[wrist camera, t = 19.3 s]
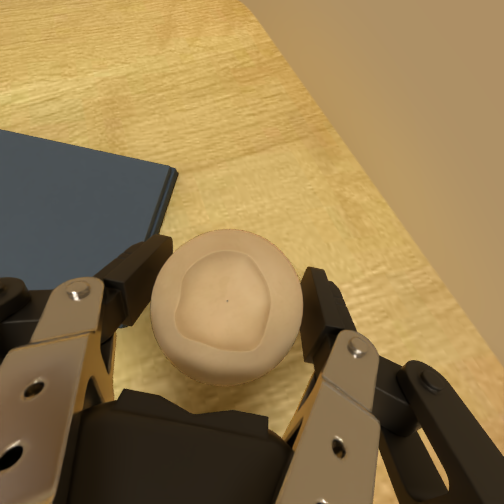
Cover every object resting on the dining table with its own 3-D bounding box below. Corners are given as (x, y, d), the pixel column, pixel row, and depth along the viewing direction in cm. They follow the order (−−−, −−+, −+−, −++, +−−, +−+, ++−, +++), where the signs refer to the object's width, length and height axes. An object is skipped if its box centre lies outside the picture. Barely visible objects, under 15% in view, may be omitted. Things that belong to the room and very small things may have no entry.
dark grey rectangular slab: (-152, 270, 14) (-193, 267, 13) (-50, 124, 17) (-75, 109, 16) (127, 327, 15) (116, 330, 13) (178, 173, 18) (173, 163, 16)
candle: (281, 316, 16) (353, 343, 6) (215, 353, 15) (172, 456, 5) (249, 253, 17) (265, 188, 7) (185, 284, 16) (100, 258, 6)
